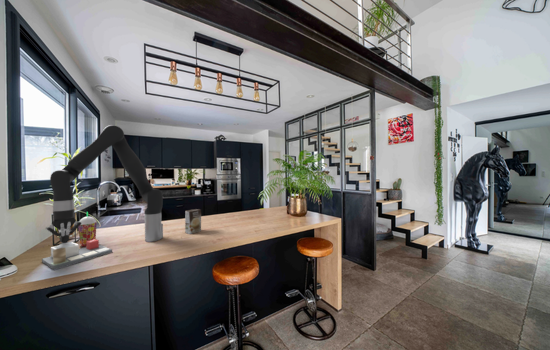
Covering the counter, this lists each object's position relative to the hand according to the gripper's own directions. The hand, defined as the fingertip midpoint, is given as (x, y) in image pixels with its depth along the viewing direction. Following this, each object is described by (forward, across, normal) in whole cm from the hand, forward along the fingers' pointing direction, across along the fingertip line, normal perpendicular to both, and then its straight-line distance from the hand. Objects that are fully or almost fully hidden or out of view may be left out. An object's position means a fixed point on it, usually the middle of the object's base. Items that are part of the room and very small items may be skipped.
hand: (64, 242), depth 101 cm
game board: (+8, -4, +4) cm, 10 cm away
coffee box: (+8, -61, +22) cm, 65 cm away
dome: (+6, 0, 0) cm, 6 cm away
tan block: (+6, +4, +9) cm, 12 cm away
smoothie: (+8, -14, -14) cm, 21 cm away
